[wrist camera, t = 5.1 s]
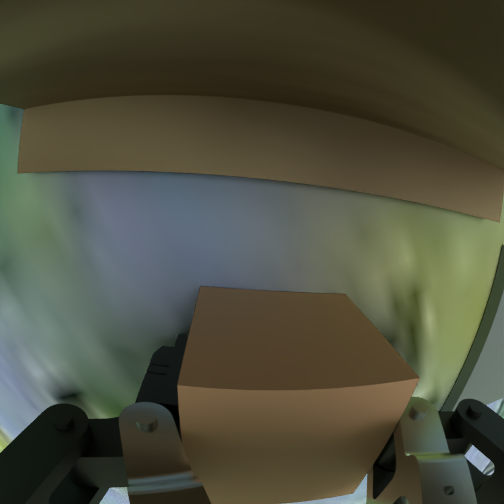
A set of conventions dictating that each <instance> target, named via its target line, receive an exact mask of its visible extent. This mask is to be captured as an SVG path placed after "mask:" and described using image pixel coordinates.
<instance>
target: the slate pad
mask: <svg viewBox="0 0 504 504" xmlns="http://www.w3.org/2000/svg"><path fill="white" fill-rule="evenodd" d="M503 397H504V245H503V246H502V251H501V255H500V260H499V264H498V268H497V272H496V276H495V280H494V284H493V287H492V291H491V294H490V297H489V301H488V304H487V307H486V310H485V313H484V316H483V319H482V322H481V325H480V327H479V330H478V333H477V335H476V338H475V340H474V343H473V345H472V348H471V350H470V353H469V355H468V357H467V360H466V362H465V364H464V366H463V368H462V371H461V373H460V375H459V377H458V379H457V381H456V383H455V385H454V387H453V389H452V391H451V393H450V395H449V397H448V399H447V400H446V402H445V404H444V406H443V408H442V409H441V411H455V409H456V407H457V405H458V404H459V402H460V401H461V400H463V399H475V400H478V401H480V402H482V403H483V404H485V405H487V404H490V403H492V402H494V401H496V400H499V399H501V398H503Z"/></svg>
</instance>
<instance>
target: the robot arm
mask: <svg viewBox="0 0 504 504" xmlns="http://www.w3.org/2000/svg"><path fill="white" fill-rule="evenodd" d="M188 335H189V334H178V337H177V340H176V343H175V347H168V346H162V347H161V348H159V349H158V350H157V351H156V352H155V353H153V356H152V358H151V361H150V365H149V366H148V369H147V373H146V374H145V377H144V380H143V382H142V385H141V388H140V391H139V393H138V396H137V399H136V402H135V403H134V404H132V405H129V406H128V407H126V408H125V409H124V410H123V411H122V412H121V414H120V415H119V417H115V418H108V419H88V417H87V415H86V413H85V412H84V411H83V410H82V409H81V408H79V407H77V406H75V405H72V404H56V405H53V406H50V407H49V408H47V409H46V410H44V411H43V412H42V413H41V414H40V415H39V416H38V417H37V418H36V419H35V420H34V421H33V422H32V423H31V424H30V425H29V426H28V427H27V428H26V429H24V430H23V431H22V432H21V433H20V434H19V435H18V436H17V437H16V438H15V439H14V440H13V441H12V442H11V443H10V444H9V445H8V446H7V447H6V448H5V449H4V450H3V451H2V452H1V453H0V504H99V503H100V502H101V500H102V499H103V497H104V495H105V494H106V492H107V491H108V489H109V488H111V487H127V491H128V496H129V501H130V504H211V502H210V500H209V497H208V495H207V493H206V491H205V489H204V486H203V484H202V482H201V481H200V479H199V478H198V477H195V475H194V473H193V471H192V469H191V466H190V464H189V461H188V458H187V456H186V453H185V450H184V448H183V445H182V440H181V429H180V417H179V404H178V389H177V384H178V380H179V375H180V370H181V366H182V362H183V357H184V353H185V348H186V344H187V340H188ZM472 445H474V446H475V447H476V448H477V449H478V450H479V451H480V452H482V453H483V454H484V455H485V456H486V457H487V458H489V459H490V460H491V461H492V462H493V463H494V466H495V470H494V473H493V474H492V475H484V474H483V473H482V472H481V471H479V470H478V469H477V468H476V467H475V466H474V465H473V464H472V463H471V462H470V461H468V460H467V459H466V457H465V456H464V455H465V454H466V453H467V451H468V450H469V449H470V447H471V446H472ZM366 504H504V419H503V418H502V417H501V416H499V415H498V414H497V413H495V412H494V411H493V410H491V409H490V408H489V407H487V406H486V405H485V404H483V403H482V402H480V401H478V400H475V399H463V400H461V401H460V402H459V404H458V405H457V407H456V409H455V411H437V409H436V407H435V406H434V405H433V404H432V403H431V402H429V401H428V400H426V399H423V398H419V397H411V398H410V400H409V402H408V404H407V406H406V408H405V410H404V412H403V414H402V416H401V418H400V420H399V422H398V424H397V425H396V427H395V429H394V431H393V433H392V434H391V436H390V438H389V440H388V441H387V443H386V445H385V446H384V448H383V450H382V451H381V453H380V454H379V456H378V458H377V459H376V461H375V462H374V464H373V465H372V467H371V468H370V470H369V471H368V475H367V500H366Z"/></svg>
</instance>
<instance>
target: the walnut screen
mask: <svg viewBox="0 0 504 504" xmlns="http://www.w3.org/2000/svg"><path fill="white" fill-rule="evenodd" d="M0 104H4V105H9V106H13V107H17V108H21V109H24V114H23V121H22V128H21V136H20V145H19V157H18V173H32V172H52V171H156V172H179V173H197V174H212V175H225V176H237V177H248V178H258V179H268V180H277V181H286V182H294V183H302V184H310V185H317V186H324V187H331V188H338V189H344V190H351V191H357V192H363V193H369V194H375V195H380V196H386V197H391V198H396V199H401V200H407V201H412V202H416V203H421V204H426V205H431V206H435V207H440V208H444V209H448V210H453V211H457V212H461V213H465V214H469V215H473V216H477V217H481V218H485V219H488V220H492V221H496V222H499V223H500V216H501V209H502V201H503V192H504V0H0Z"/></svg>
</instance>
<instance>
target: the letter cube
mask: <svg viewBox="0 0 504 504" xmlns="http://www.w3.org/2000/svg"><path fill="white" fill-rule="evenodd" d="M419 379H420V378H419V376H418V375H417V374H416V373H415V372H414V371H413V369H412V368H411V367H410V366H409V365H408V364H407V362H406V361H405V360H404V359H403V358H402V357H401V355H400V354H399V353H398V352H397V351H396V350H395V349H394V347H393V346H392V345H391V344H390V343H389V342H388V341H387V339H386V338H385V337H384V336H383V335H382V334H381V333H380V332H379V330H378V329H377V328H376V327H375V326H374V325H373V324H372V323H371V322H370V320H369V319H368V318H367V317H366V316H365V315H364V314H363V313H362V312H361V311H360V309H359V308H358V307H357V306H356V305H355V304H354V303H353V302H352V301H351V300H350V299H349V297H348V296H347V295H346V294H326V293H303V292H283V291H265V290H249V289H234V288H220V287H206V286H200V290H199V294H198V298H197V302H196V306H195V310H194V315H193V319H192V323H191V327H190V331H189V335H188V340H187V344H186V348H185V353H184V357H183V362H182V366H181V370H180V375H179V380H178V384H177V389H178V404H179V417H180V429H181V440H182V445H183V448H184V450H185V453H186V456H187V458H188V461H189V464H190V466H191V469H192V471H193V473H194V475H195V477H198V478H199V479H200V481H201V482H202V484H203V486H204V489H205V491H206V493H207V495H208V497H209V500H210V502H211V504H281V503H293V502H302V501H311V500H318V499H325V498H331V497H337V496H342V495H347V494H352V493H354V491H355V490H356V489H357V487H358V486H359V484H360V483H361V482H362V480H363V479H364V477H365V476H366V474H367V473H368V471H369V470H370V468H371V467H372V465H373V464H374V462H375V461H376V459H377V458H378V456H379V454H380V453H381V451H382V450H383V448H384V446H385V445H386V443H387V441H388V440H389V438H390V436H391V434H392V433H393V431H394V429H395V427H396V425H397V424H398V422H399V420H400V418H401V416H402V414H403V412H404V410H405V408H406V406H407V404H408V402H409V400H410V398H411V396H412V394H413V392H414V390H415V388H416V385H417V383H418V381H419Z"/></svg>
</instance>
